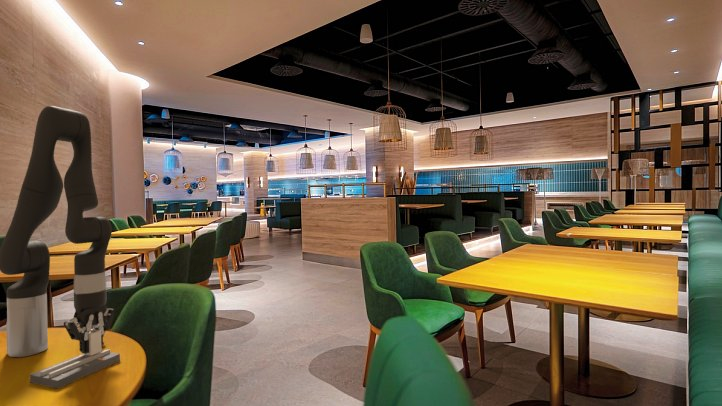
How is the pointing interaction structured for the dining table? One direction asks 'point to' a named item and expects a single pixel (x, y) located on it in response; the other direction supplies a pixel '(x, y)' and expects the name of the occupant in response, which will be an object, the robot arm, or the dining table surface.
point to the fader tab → (94, 343)
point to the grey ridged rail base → (73, 369)
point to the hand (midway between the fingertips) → (91, 350)
